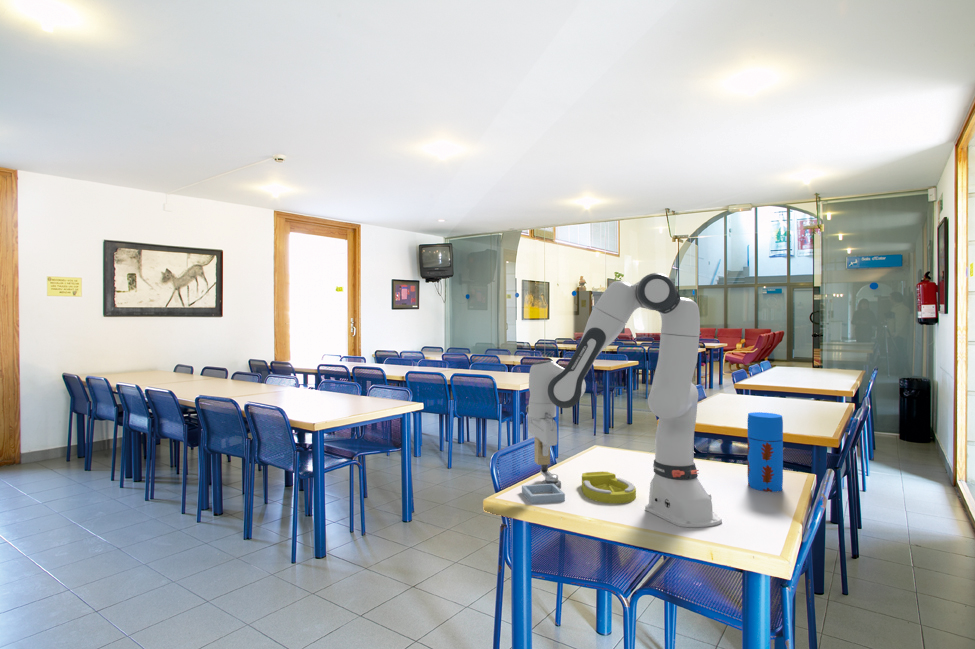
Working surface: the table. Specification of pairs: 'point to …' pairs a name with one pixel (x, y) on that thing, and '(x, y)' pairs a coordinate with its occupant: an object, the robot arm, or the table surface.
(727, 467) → the table surface
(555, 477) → the crank
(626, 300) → the robot arm
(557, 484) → the plinth
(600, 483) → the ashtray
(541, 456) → the block
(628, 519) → the table surface
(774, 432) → the thermos
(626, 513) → the table surface
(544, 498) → the tray
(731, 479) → the table surface
